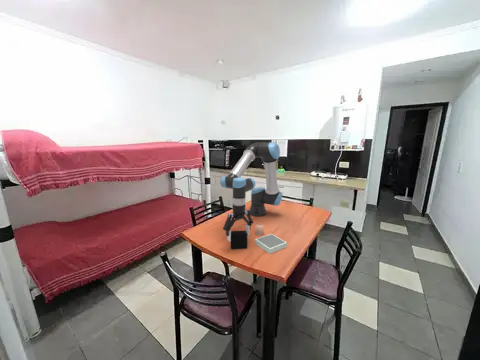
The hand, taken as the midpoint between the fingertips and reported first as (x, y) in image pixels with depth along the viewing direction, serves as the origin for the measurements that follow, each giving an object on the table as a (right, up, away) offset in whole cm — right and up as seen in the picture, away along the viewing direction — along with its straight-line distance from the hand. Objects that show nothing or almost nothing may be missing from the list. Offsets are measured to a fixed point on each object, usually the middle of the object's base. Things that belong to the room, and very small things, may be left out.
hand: (238, 237), depth 122 cm
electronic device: (0, -7, +2) cm, 7 cm away
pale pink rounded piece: (+15, -3, +19) cm, 24 cm away
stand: (+20, -6, +4) cm, 21 cm away
